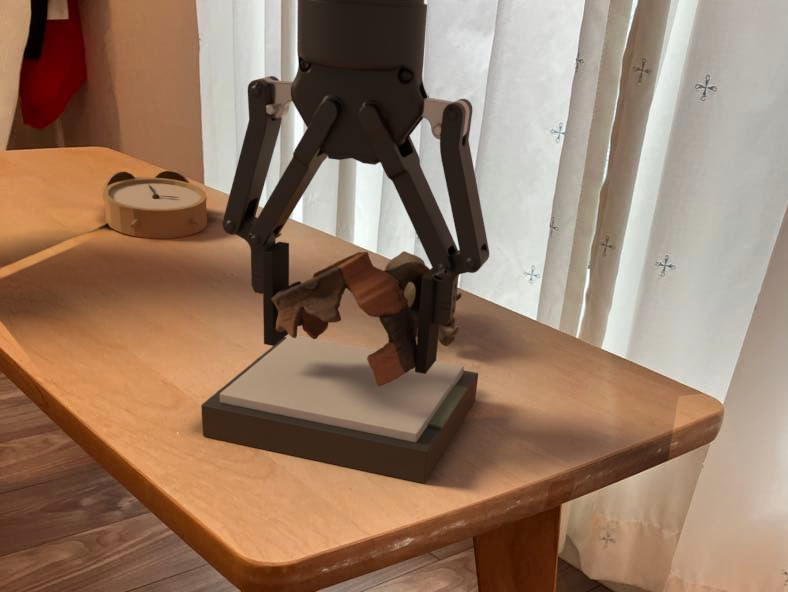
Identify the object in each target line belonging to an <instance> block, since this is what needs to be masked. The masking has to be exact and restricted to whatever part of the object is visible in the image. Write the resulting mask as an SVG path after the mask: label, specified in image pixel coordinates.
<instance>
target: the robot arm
mask: <svg viewBox="0 0 788 592" xmlns="http://www.w3.org/2000/svg"><path fill="white" fill-rule="evenodd" d="M296 13H297V15H296V16H297V17H296V18H297V21H296V22H297V25H296V26H297V27H296V29H297V30H296V32H297V33H296V39H297V41H296V42H297V43H296V51H297V60H298V61H297V62H298V64H297V65H298V66H297V72H296V75H295V77H294V79H293V81H290V80H289V81H288V80H279V78H278V77H277V76H274V75H270V76H266V77H265V76H264V77H262V78H258V79H254V80H251V81H250V82H249V83H248V85H247V105H248V123H247V125H246V131H245V133H244V138H243V142H242V146H241V150H240V154H239V157H238V161H237V165H236V168H235V172H234V177H233V180H232V184H231V188H230V192H229V195H228V200H227V203H226V208H225V211H224V216H223V220H222V229H223V230H224V232H225V233H226V234H227V235H230V236H235V235H236V236H237V237H239V238H241V239H243V240H245V242H246V243H247V244H248V246H249V248H250V270H251V271H250V276H251V277H250V278H251V279H250V281H251V282H250V284H251V288H252V290H253V292H254V293H255V294H260V295H262V301H263V302H262V304H263V305H262V307H263V344H264V345H267V346H271V347H273V346H274V345H276V344H277V343H278V342H279V341H280V340H282V339H283V338H284V337H287V336H288V335H289V334H288V333H287V331H286V330H284V331H283V332H278V331H276V321H277V317H278V310H277V308H276V306H275V304H274V303H273V302H272V300H271V299H272V297H274V296H275V295H276V294H277V293H278V292H279V291H280V290H282V289H285V288H286V287H288V286H289V285H290V243H289V242H285V241H277V240H276V239H278V238H280V237H281V236H282V230H283V228H284V227H285V226H286V223H287V221H288V220H289V218H290V217H291V215H292V214H293V212H294V210H295V209H296V207H297V205H298V203H299V202H300V200H301V198H302V197H303V196H304V194H305V192H306V191H307V189H308V187H309V186H310V184H311V182H312V180H313V179H314V177H315V175H316V174H317V172H318V170H320V169H319V168H320V167H321V165H322V164H323V163H324V162H325V160H326V159H329V160H335V161H342V160H348V159H353V160H355V161H357V162H359V163H361V164H365V165H371V166H372V165H374V166H376V165H378V164H379V163H380V164H381V167H382V169H383V171H384V173H385V175H386V177H387V179H389V180H390V181H391V182H392V183H393V185H394V188H395V190H396V192H397V193H398V196H399V198H400V201H401V203H402V205H403V207H404V209H405V211H406V214H407V216H408V218H409V220H410V223H411V224H412V227H413V229H414V231H415V233H416V235H417V238H418V239H419V242H420V244H421V246H422V248H423V250H424V252H425V254H426V257H427V259H428V261H429V263H430V265H431V268H429V269H430V270H429V271H428V272H427V273H426V274H425V275H424V276H423V277H422V285H421V298H420V311H419V324H418V330H417V337H416V343H417V351H416V364H415V372H417V373H422V374H426V373H427V371H428V370H429V369H430V368H431V366H432V365H433V364H434V362H435V361H437V357H438V356H437V355H438V343H439V340H438V335H439V324H441V325H447V324H448V322H449V321H450V320H451V319H452V317H454V315H455V313H456V306H457V301H456V297H457V294H458V287H459V277H460V275H462V274H466V273H470V274H475V273H477V272H478V271H480V269H481V268H482V267H483V266H484V264H486V262H487V261H488V260H489V258H490V248H489V242H488V236H487V232H486V227H485V221H484V216H483V211H482V205H481V200H480V194H479V189H478V183H477V177H476V172H475V168H474V163H473V162H474V161H473V158H472V157H473V156H472V151H471V146H470V131H471V126H472V117H473V105H472V103H471V101H469V99H466V98H459V99H458V100H457V99H456V100H455V101H452V100H446V99H439V98H433V97H429V96H428V93H427V91H426V89H425V86H424V79H423V72H424V71H423V70H424V69H423V68H424V62H425V61H424V60H425V48H426V47H425V46H426V45H425V44H426V31H427V17H428V4H427V3H425V0H297V12H296ZM291 104H293V105H294V107H295V109H296V110H297V113H298V114H299V116H300V117H301V119H302V121H303V123H304V125H305V126H306V130H305V131H304V133H303V135H302V137H300V140H299V141H298V144H297V145H296V147H295V148H294V151H293V153H292V157H291V160H290V161H289V163H288V165H287V167H286V168H285V170H284V171H283V173H282V175H281V177H280V179H278V182H277V184H276V185H275V187H274V189H273V191H272V192H271V194H270V196H269V198H268V199H267V201H266V202H265V204H264V206H263V207H262V209H261V211H260V213H259V214H258V216H257V212H258V209H259V206H260V201H261V199H262V194H263V191H264V187H265V184H266V181H267V177H268V173H269V169H270V165H271V162H272V159H273V155H274V152H275V148H276V144H277V142H278V141H277V140H278V138H279V134H280V130H281V125H282V120H283V119H282V118H283V117H285V116H286V115H287V114H288V113H289V109H290V105H291ZM423 119H426V120H427V121H428V122H429V125H430V130H431V134H432V135H433V137H434V138H436V140H439V153H440V160H441V165H442V169H443V174H444V179H445V185H446V190H447V194H448V200H449V205H450V209H451V210H450V211H451V214H452V220H453V224H454V229H455V234H456V235H455V236H456V240H457V244H458V246H457V245H456V242H455V240H454V238H453V235H452V233H451V231H450V229H449V226H448V224H447V221H446V220H445V218H444V215H443V213H442V211H441V208H440V206H439V204H438V202H437V200H436V198H435V196H434V193H433V191H432V188H431V186H430V184H429V182H428V180H427V177H426V175H425V173H424V171H423V169H422V167H421V159H420V156H419V153H418V151H417V149H416V147H415V145H414V142H413V140H412V138H411V135H412V133H413V132H414V130H416V129H417V127H418V126H419V124H420V123H421V122H422V121H423ZM276 241H277V242H276Z"/></svg>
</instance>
